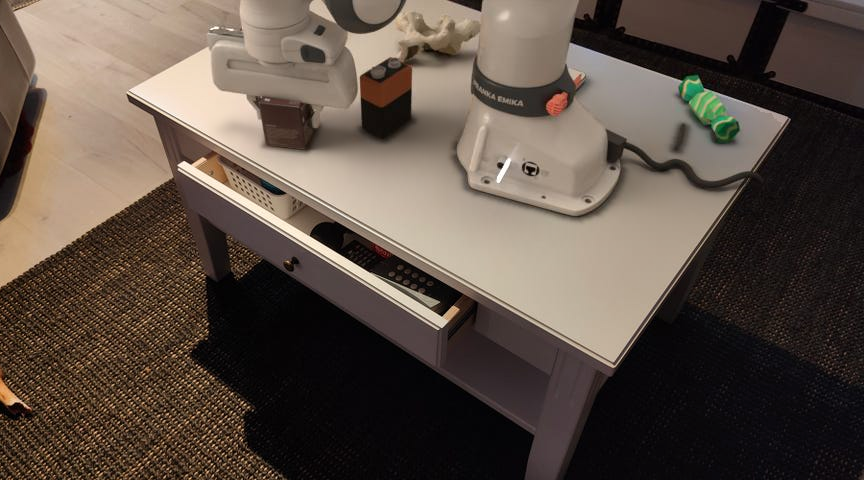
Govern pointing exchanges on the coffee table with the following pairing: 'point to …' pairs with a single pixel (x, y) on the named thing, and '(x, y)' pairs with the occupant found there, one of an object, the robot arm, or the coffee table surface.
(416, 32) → the decorative object
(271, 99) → the box
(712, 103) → the candy
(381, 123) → the battery
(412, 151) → the coffee table surface
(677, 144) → the stick
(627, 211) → the coffee table surface
